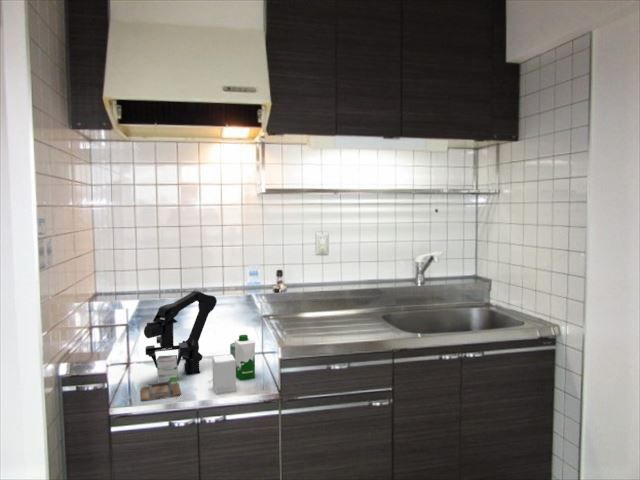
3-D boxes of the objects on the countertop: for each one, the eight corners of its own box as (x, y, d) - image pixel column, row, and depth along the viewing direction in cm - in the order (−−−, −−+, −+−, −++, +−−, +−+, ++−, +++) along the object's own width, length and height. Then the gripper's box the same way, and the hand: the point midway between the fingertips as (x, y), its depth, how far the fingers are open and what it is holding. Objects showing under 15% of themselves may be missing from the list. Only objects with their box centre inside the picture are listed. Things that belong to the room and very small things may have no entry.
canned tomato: (244, 368, 236) (244, 346, 236) (228, 368, 236) (228, 346, 236) (247, 362, 244) (246, 342, 244) (232, 362, 244) (231, 342, 244)
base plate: (178, 384, 214) (178, 379, 214) (181, 395, 201) (181, 390, 201) (140, 389, 208) (140, 384, 208) (141, 401, 195) (141, 396, 195)
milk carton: (251, 374, 228) (250, 333, 226) (257, 380, 220) (257, 338, 218) (233, 377, 224) (232, 335, 222) (239, 383, 216) (238, 340, 214)
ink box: (178, 379, 221) (177, 354, 220) (176, 382, 216) (176, 357, 216) (159, 380, 220) (158, 355, 219) (157, 384, 215) (156, 358, 214)
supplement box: (236, 393, 203) (236, 359, 202) (215, 396, 200) (215, 362, 199) (232, 386, 212) (232, 353, 211) (212, 389, 209) (212, 356, 208)
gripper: (185, 327, 227) (186, 359, 228) (144, 331, 220) (145, 363, 221) (188, 333, 217) (188, 366, 218) (145, 337, 210) (146, 371, 211)
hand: (167, 366), depth 217 cm, fingers open, 9 cm apart
